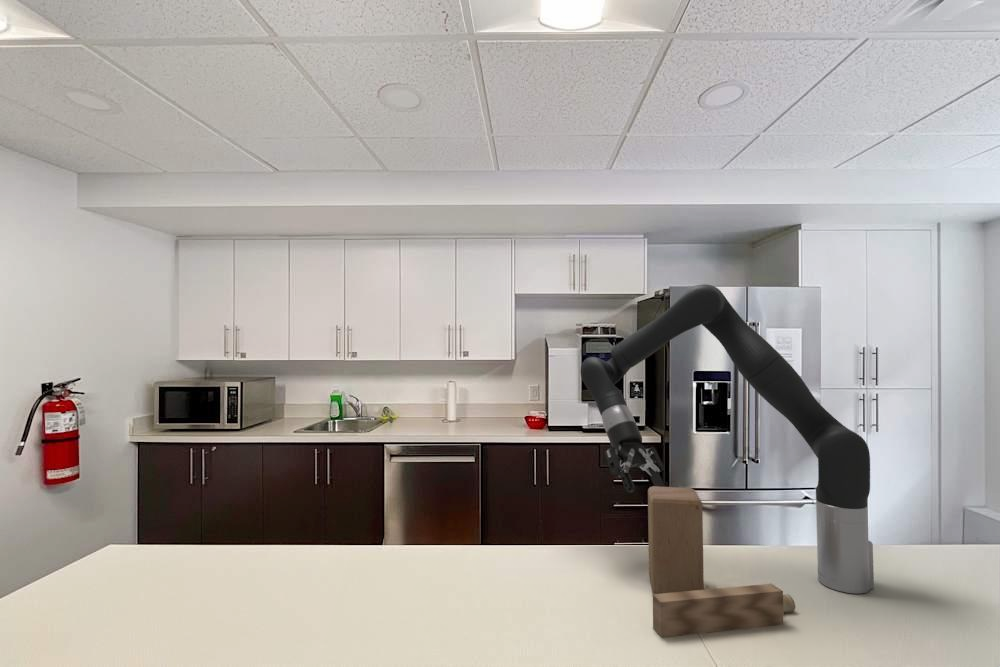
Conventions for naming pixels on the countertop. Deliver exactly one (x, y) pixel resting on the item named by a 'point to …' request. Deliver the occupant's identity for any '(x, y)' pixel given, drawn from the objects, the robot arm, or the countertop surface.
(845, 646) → the countertop surface
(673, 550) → the wooden block
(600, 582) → the countertop surface
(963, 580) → the countertop surface
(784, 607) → the roller
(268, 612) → the countertop surface
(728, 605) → the board
